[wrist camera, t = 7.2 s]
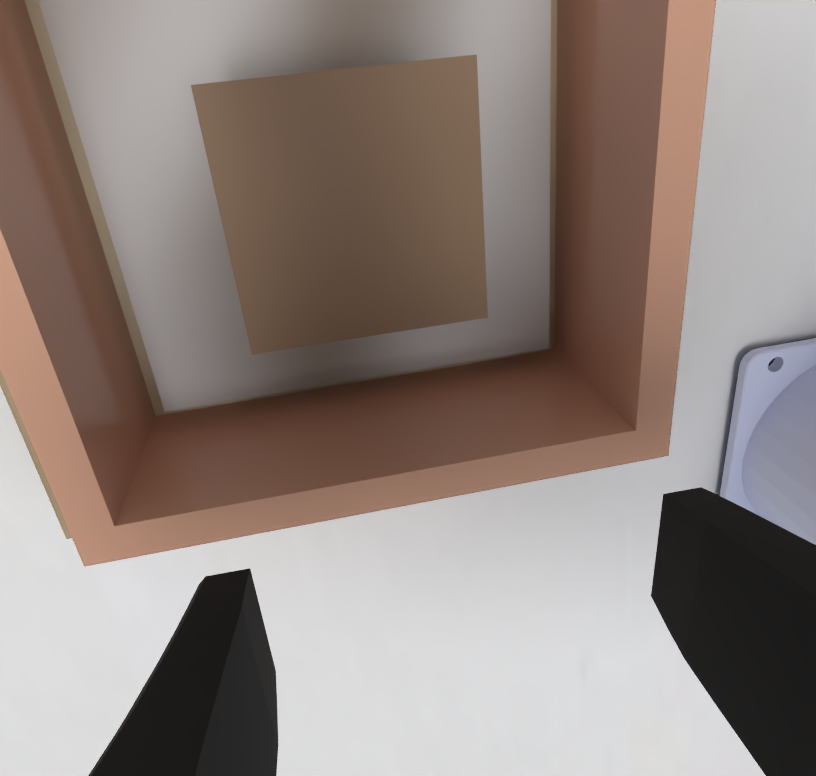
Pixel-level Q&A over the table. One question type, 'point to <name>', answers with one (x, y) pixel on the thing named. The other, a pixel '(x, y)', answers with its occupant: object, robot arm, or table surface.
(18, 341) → the shallow wooden crate
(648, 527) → the table surface
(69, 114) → the light wood rectangular frame
